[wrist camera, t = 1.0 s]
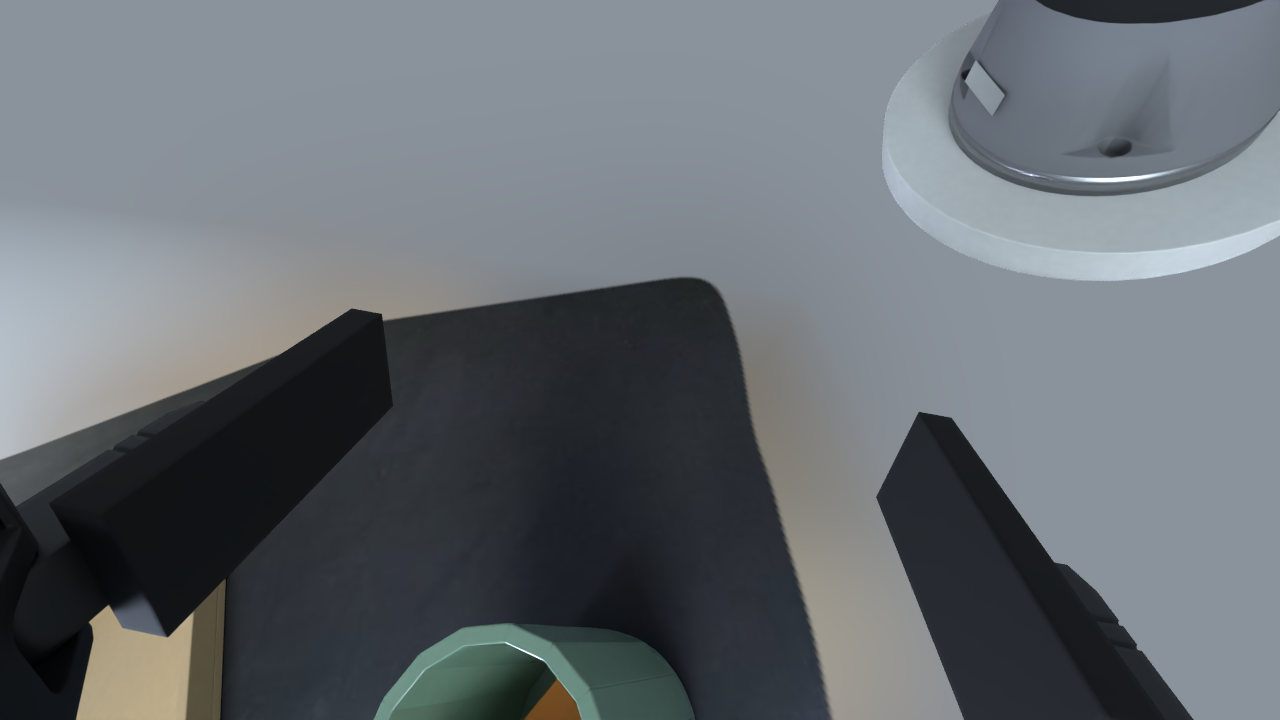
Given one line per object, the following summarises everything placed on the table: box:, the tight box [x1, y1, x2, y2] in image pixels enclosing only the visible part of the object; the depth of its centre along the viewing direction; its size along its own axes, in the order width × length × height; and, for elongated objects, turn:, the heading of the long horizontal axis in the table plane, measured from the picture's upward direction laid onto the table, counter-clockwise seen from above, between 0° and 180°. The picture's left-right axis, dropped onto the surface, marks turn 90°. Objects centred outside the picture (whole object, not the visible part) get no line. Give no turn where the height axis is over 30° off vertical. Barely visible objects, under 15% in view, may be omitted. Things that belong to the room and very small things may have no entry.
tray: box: [76, 578, 226, 720], centre depth 33 cm, size 22×18×2 cm
